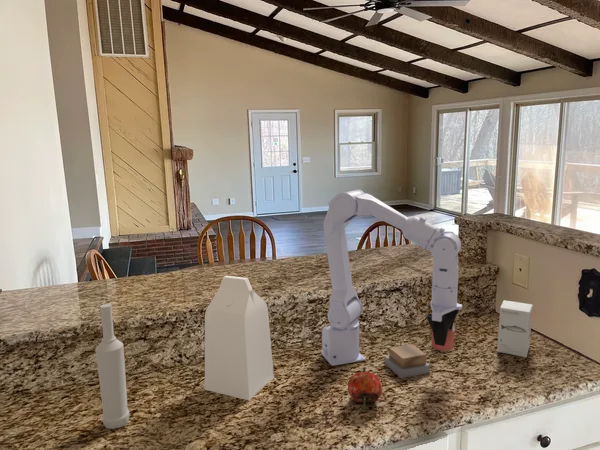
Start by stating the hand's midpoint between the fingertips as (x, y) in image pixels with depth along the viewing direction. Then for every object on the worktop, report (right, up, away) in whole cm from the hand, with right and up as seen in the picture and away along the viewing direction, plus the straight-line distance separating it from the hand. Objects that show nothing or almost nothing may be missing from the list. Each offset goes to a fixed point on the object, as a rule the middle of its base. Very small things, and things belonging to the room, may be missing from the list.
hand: (442, 340), depth 108 cm
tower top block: (-7, -7, +6) cm, 11 cm away
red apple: (-20, -12, -9) cm, 25 cm away
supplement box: (+24, -7, +15) cm, 29 cm away
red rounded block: (0, -1, 0) cm, 1 cm away
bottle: (-72, -13, -14) cm, 74 cm away
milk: (-48, -11, +1) cm, 49 cm away
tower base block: (-7, -9, +6) cm, 13 cm away
